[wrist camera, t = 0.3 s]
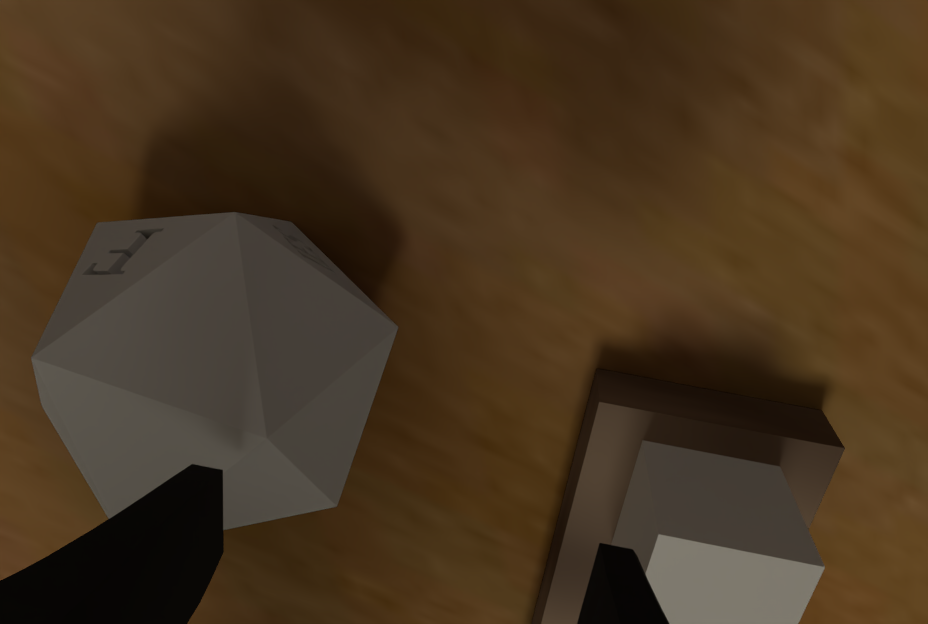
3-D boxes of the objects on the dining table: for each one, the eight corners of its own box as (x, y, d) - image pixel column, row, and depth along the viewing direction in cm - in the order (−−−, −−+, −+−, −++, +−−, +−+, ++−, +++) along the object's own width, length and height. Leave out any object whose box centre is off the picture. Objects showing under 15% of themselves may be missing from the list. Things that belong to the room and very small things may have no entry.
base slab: (695, 710, 28) (704, 760, 26) (519, 673, 29) (515, 719, 27) (822, 410, 22) (845, 448, 20) (596, 368, 23) (599, 401, 21)
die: (458, 233, 22) (185, 129, 14) (438, 532, 21) (136, 621, 13) (258, 243, 26) (-44, 168, 18) (236, 491, 26) (-91, 538, 17)
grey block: (738, 568, 23) (771, 680, 19) (611, 543, 23) (620, 648, 19) (779, 466, 21) (824, 567, 17) (642, 440, 21) (658, 534, 18)
